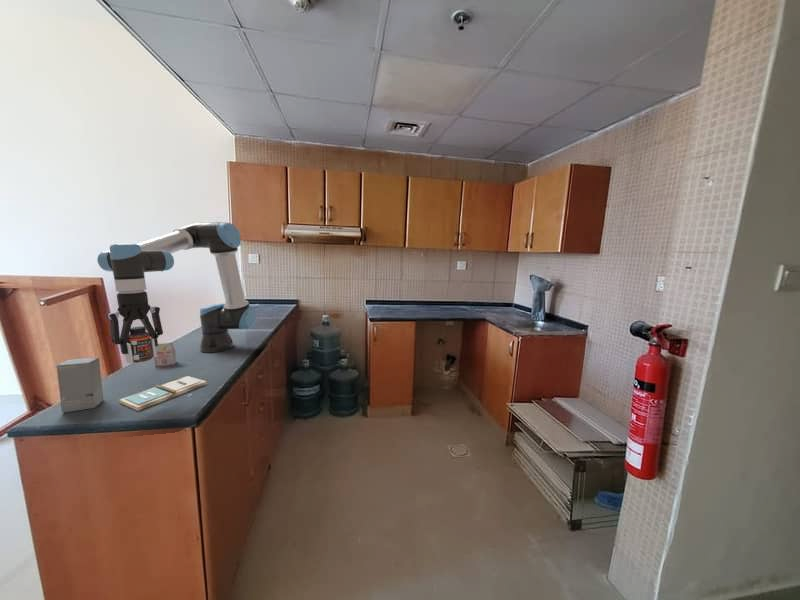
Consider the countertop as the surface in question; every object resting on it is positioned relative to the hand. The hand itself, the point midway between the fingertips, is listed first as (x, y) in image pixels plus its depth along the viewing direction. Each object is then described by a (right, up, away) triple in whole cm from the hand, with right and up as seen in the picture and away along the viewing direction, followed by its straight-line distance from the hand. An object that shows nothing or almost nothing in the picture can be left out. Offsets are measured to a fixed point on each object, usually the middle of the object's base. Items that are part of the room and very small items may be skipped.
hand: (142, 359), depth 103 cm
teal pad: (0, -13, +2) cm, 13 cm away
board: (+3, -14, +7) cm, 16 cm away
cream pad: (+5, -12, +12) cm, 17 cm away
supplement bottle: (0, 0, 0) cm, 0 cm away
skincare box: (-18, -15, -2) cm, 23 cm away
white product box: (-19, -9, +35) cm, 41 cm away
